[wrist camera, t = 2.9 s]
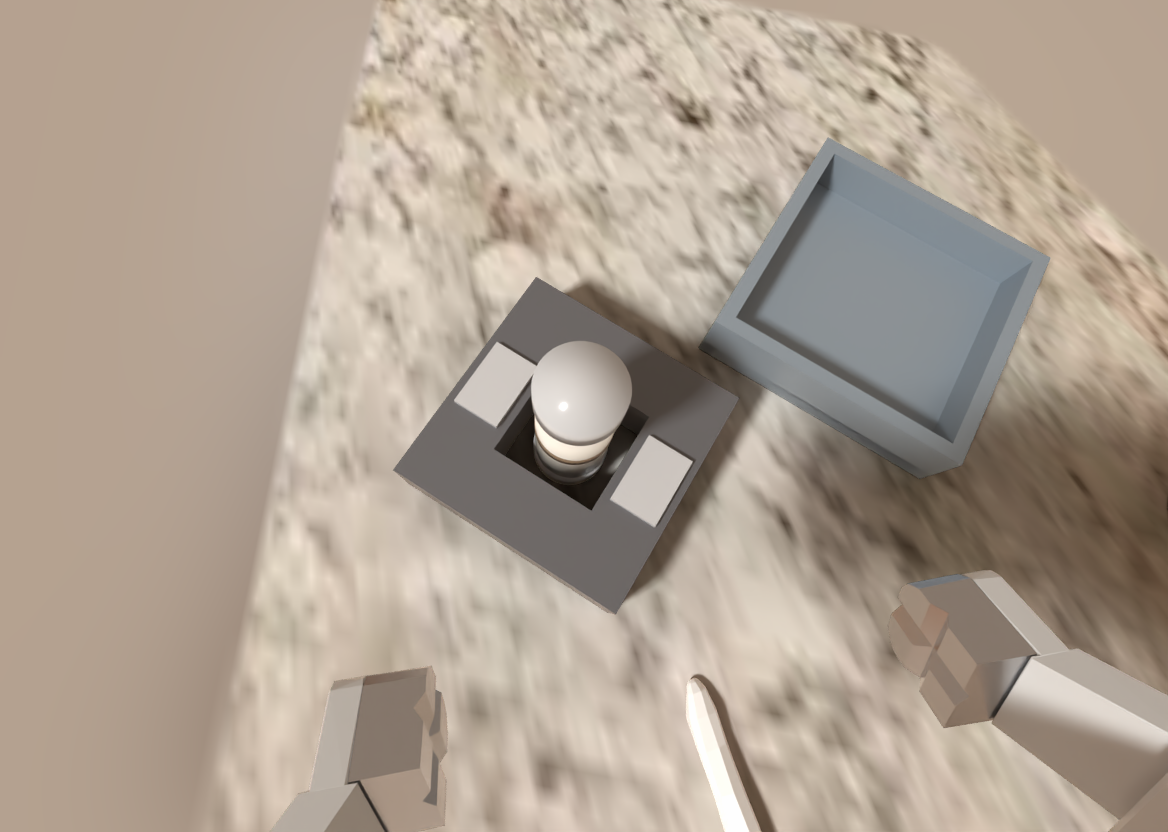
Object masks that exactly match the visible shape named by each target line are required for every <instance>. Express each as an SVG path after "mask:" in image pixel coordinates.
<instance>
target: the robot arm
mask: <svg viewBox="0 0 1168 832" xmlns="http://www.w3.org/2000/svg"><path fill="white" fill-rule="evenodd" d="M898 599H899V600H900V602H901V603H902V605H901V606H900V607H899V608H898V609H896V610H895V611H894V612H893V613H892V614H891V617H890V621H889V624H888V631H889V638H890V642H891V645H892V647H893V650H894V652H895V654H896V656H897V657H898V659H899V661H900V662H901V664H902V665H903V667H904V668H906V669H907V670H909V671H910V672H912V673H913V674H915V675H917V676H918V677H920V686H919V692H920V693H921V695H922V696H923V698H924V699H925V701H926V702H927V704H928V705H929V707H930V708H931V710H932V711H933V713H934V714H935V716H936V717H937V719H938V720H939V722H940V723H941V725H942V726H943V728H948V727H954V726H960V725H966V724H972V723H978V722H984V721H990V720H993V721H992V724H993V725H994V726H996V727H997V728H998V729H1000V730H1001V731H1002V732H1004V733H1005V734H1006V735H1008V736H1009V737H1010V738H1012V739H1013V740H1014V741H1016V742H1017V743H1018V744H1020V745H1021V746H1022V747H1024V748H1025V749H1026V750H1028V751H1029V752H1030V753H1032V754H1033V755H1034V756H1036V757H1037V758H1038V759H1040V760H1041V761H1042V762H1043V763H1045V764H1046V765H1047V766H1049V767H1050V768H1051V769H1053V770H1054V771H1055V772H1057V773H1058V774H1059V775H1061V776H1062V777H1063V778H1065V779H1066V780H1067V781H1069V782H1070V783H1071V784H1073V785H1074V786H1075V787H1077V788H1078V789H1079V790H1081V791H1082V792H1083V793H1085V794H1086V795H1087V796H1089V797H1090V798H1091V799H1093V800H1094V801H1095V802H1097V803H1098V804H1099V805H1101V806H1102V807H1103V808H1105V809H1106V810H1107V811H1109V812H1110V813H1111V814H1112V815H1114V816H1115V817H1116V818H1118V819H1119V821H1118V822H1117V823H1116V824H1115V825H1114V826H1113V827H1112V828H1111V829H1110V830H1109V831H1108V832H1168V695H1166V694H1164V693H1162V692H1160V691H1158V690H1156V689H1155V688H1153V687H1151V686H1149V685H1147V684H1145V683H1143V682H1141V681H1139V680H1137V679H1135V678H1133V677H1132V676H1130V675H1128V674H1126V673H1124V672H1122V671H1120V670H1118V669H1116V668H1114V667H1112V666H1111V665H1109V664H1107V663H1105V662H1103V661H1101V660H1099V659H1097V658H1095V657H1093V656H1091V655H1089V654H1088V653H1086V652H1084V651H1082V650H1080V649H1078V648H1076V649H1068V648H1067V647H1066V646H1065V644H1064V643H1063V642H1062V641H1061V640H1060V639H1059V638H1058V637H1057V636H1056V635H1055V634H1054V633H1053V632H1052V631H1051V629H1050V628H1049V627H1048V626H1047V625H1046V624H1045V623H1044V622H1043V621H1042V620H1041V619H1040V618H1039V617H1038V616H1037V614H1036V613H1035V612H1034V611H1033V610H1032V609H1031V608H1030V607H1029V606H1028V605H1027V604H1026V603H1025V602H1024V600H1023V599H1022V598H1021V597H1020V596H1019V595H1018V594H1017V593H1016V592H1015V591H1014V590H1013V589H1012V588H1011V587H1010V585H1009V584H1008V583H1007V582H1006V581H1005V580H1004V579H1003V578H1002V577H1001V576H1000V575H999V574H997V573H995V572H994V571H992V570H981V571H976V572H970V573H965V574H960V575H959V574H955V575H950V576H945V577H939V578H934V579H929V580H924V581H918V582H913V583H908V584H906V585H905V586H903V587H902V588H901V590H900V592H899V595H898ZM447 744H448V730H447V715H446V709H445V703H444V699H443V696H442V693H441V692H439V691H437V690H436V676H435V673H434V671H433V668H432V666H426V667H419V668H413V669H407V670H401V671H395V672H388V673H382V674H376V675H370V676H369V675H367V676H361V677H355V678H350V679H344V680H338V681H334V683H333V685H332V687H331V689H330V691H329V694H328V699H327V703H326V708H325V713H324V718H323V723H322V728H321V732H320V737H319V742H318V747H317V752H316V757H315V762H314V766H313V771H312V776H311V781H310V786H309V791H307V792H303V793H298V795H297V796H296V797H295V799H294V800H293V801H292V803H291V804H290V805H289V807H288V808H287V809H286V811H285V812H284V813H283V815H282V816H281V817H280V818H279V820H278V821H277V822H276V824H275V825H274V826H273V828H272V829H271V830H270V832H419V831H423V830H428V829H432V828H437V827H441V826H445V809H446V778H445V775H444V772H443V770H442V767H441V764H440V762H441V761H442V759H443V757H444V756H445V754H446V753H447Z"/></svg>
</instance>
